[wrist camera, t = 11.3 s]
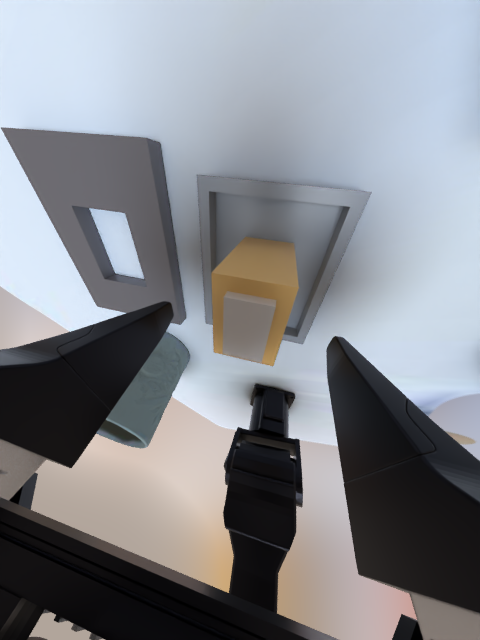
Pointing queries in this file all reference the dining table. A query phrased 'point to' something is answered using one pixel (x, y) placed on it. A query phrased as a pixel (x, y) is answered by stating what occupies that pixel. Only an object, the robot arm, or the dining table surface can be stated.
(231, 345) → the block
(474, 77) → the dining table surface
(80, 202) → the grey flat frame
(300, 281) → the parts tray
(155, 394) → the grey green pot
